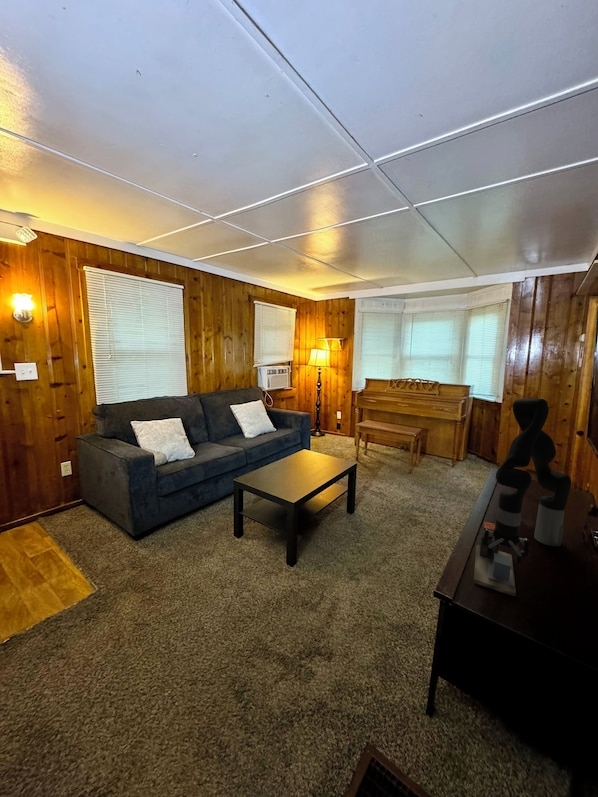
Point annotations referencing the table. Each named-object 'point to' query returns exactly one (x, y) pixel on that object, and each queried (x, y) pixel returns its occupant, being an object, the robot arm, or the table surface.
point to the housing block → (501, 566)
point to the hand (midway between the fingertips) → (503, 559)
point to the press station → (485, 569)
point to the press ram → (490, 527)
